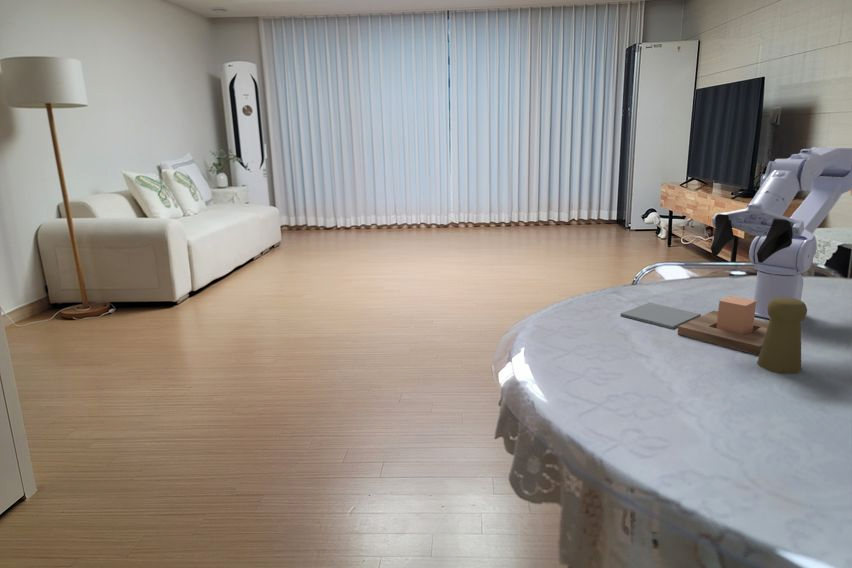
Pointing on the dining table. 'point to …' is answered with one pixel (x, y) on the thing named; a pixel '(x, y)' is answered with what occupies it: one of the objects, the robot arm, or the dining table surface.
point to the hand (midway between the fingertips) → (735, 254)
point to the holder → (724, 333)
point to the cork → (783, 336)
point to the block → (736, 315)
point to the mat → (661, 315)
